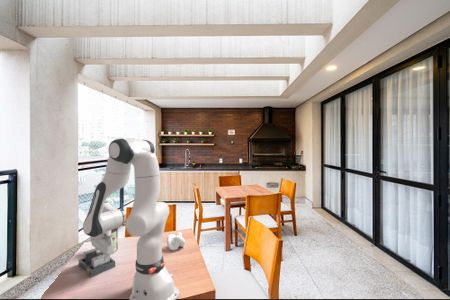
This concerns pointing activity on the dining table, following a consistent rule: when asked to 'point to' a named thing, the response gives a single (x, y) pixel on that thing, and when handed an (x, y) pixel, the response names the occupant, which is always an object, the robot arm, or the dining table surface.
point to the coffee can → (114, 238)
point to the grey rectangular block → (99, 261)
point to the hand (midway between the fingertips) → (102, 257)
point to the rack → (87, 263)
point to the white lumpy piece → (175, 241)
